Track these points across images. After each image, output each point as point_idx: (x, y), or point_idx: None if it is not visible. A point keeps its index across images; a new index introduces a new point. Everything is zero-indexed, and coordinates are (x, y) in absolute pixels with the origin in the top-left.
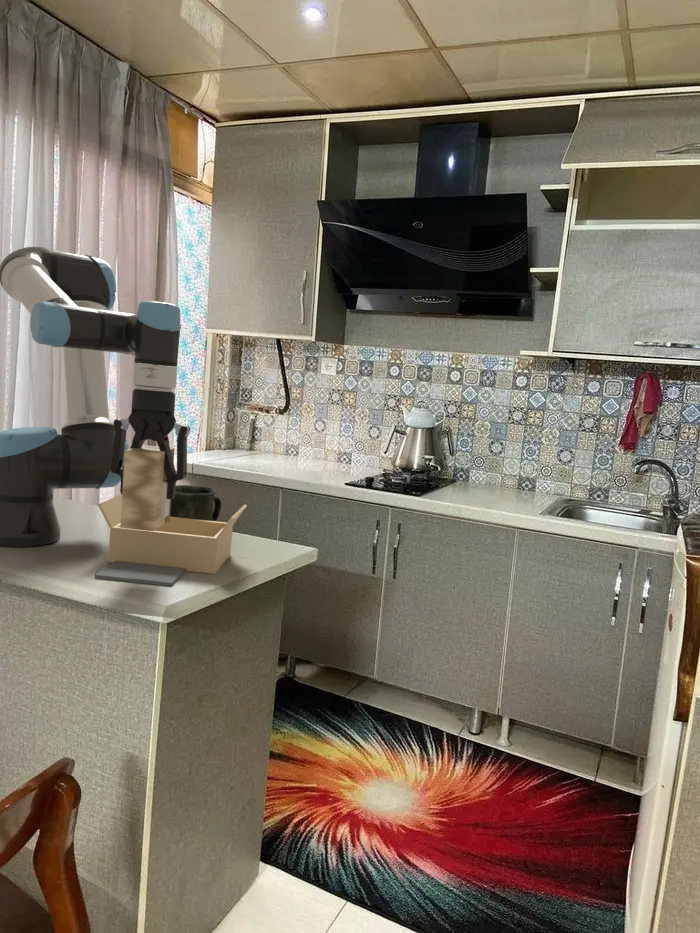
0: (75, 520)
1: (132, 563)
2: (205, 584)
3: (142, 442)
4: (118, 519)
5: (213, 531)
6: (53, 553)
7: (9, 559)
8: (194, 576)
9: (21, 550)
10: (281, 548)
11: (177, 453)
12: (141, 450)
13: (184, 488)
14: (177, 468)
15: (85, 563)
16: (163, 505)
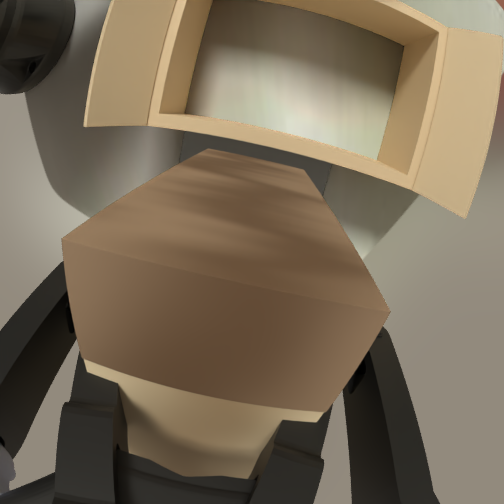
0: None
1: (221, 142)
2: (359, 236)
3: (119, 429)
4: (151, 66)
5: (399, 21)
6: (78, 95)
7: (41, 153)
8: (345, 191)
9: (40, 99)
10: (486, 15)
11: (351, 454)
12: (172, 459)
13: None
14: (345, 396)
15: (136, 139)
16: None
